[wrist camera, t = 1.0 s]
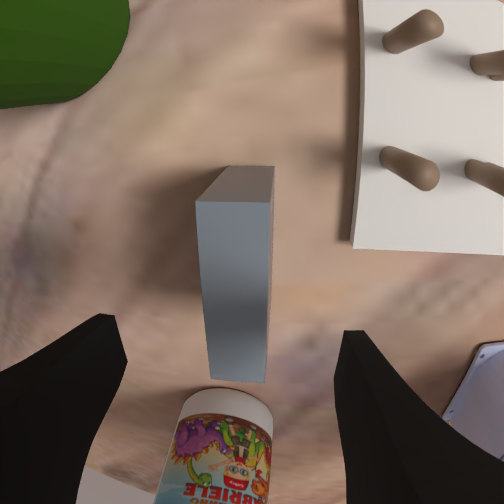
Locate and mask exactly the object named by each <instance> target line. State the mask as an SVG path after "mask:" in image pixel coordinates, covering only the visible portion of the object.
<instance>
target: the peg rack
mask: <svg viewBox="0 0 504 504" xmlns="http://www.w3.org/2000/svg"><path fill="white" fill-rule="evenodd" d="M358 7H359V29H360V112H359V136H358V154H357V169H356V182H355V193H354V204H353V214H352V223H351V232H350V240H349V241H350V244H351V246H352V248H353V249H378V250H401V251H424V252H446V253H468V254H489V255H504V3H502V2H500V1H497V0H358Z"/></svg>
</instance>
